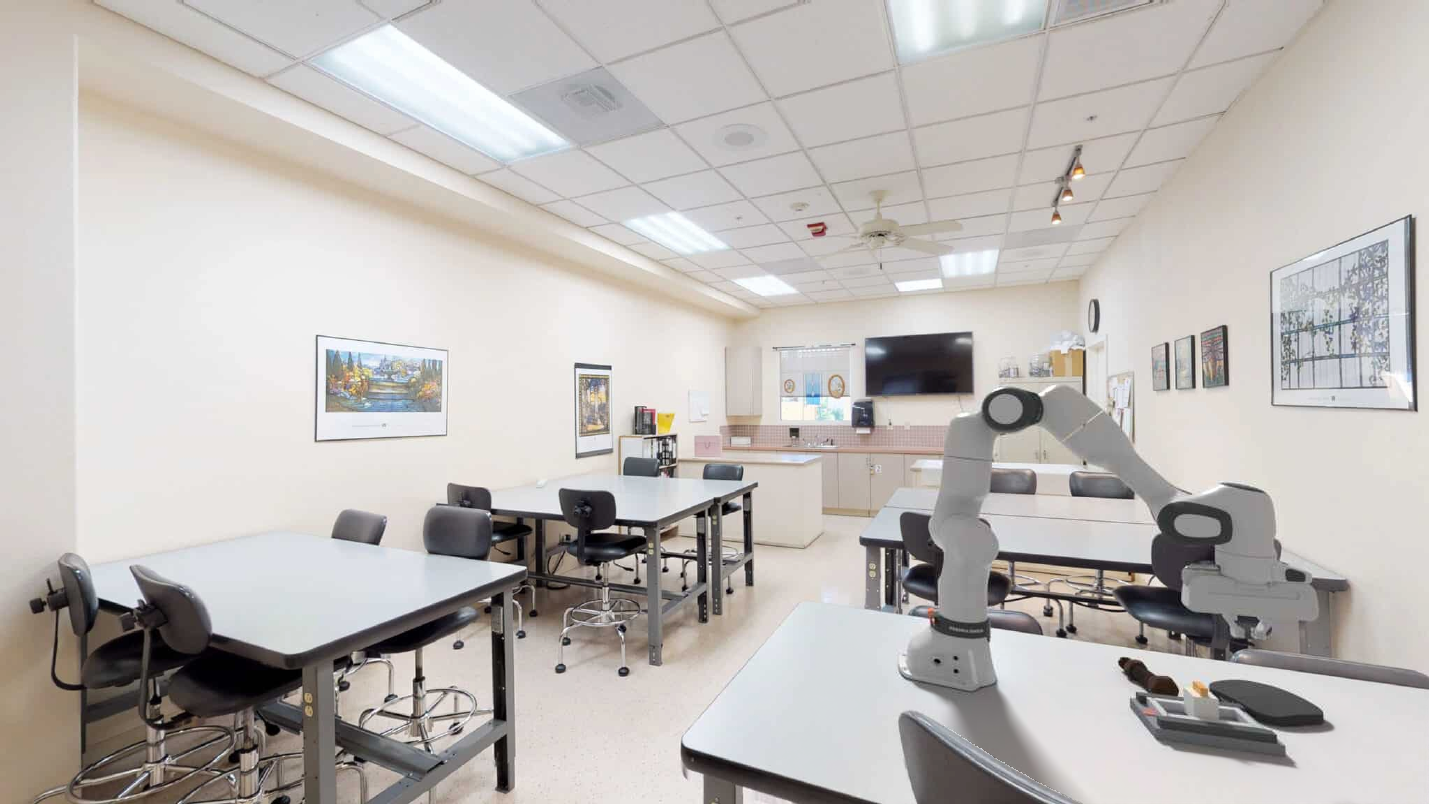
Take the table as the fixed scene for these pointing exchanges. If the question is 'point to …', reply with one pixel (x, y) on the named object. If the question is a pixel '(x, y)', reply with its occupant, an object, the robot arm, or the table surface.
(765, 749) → the table surface
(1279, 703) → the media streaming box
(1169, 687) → the dark brown lumpy rod
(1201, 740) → the panel
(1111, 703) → the table surface
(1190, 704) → the toggle
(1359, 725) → the table surface
